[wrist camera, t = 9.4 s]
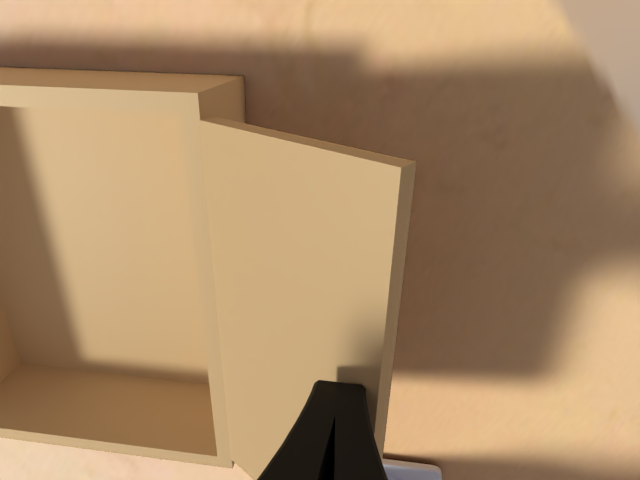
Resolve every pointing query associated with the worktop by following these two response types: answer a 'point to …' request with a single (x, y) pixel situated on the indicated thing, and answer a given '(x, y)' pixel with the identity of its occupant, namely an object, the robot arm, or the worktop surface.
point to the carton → (110, 262)
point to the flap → (301, 275)
